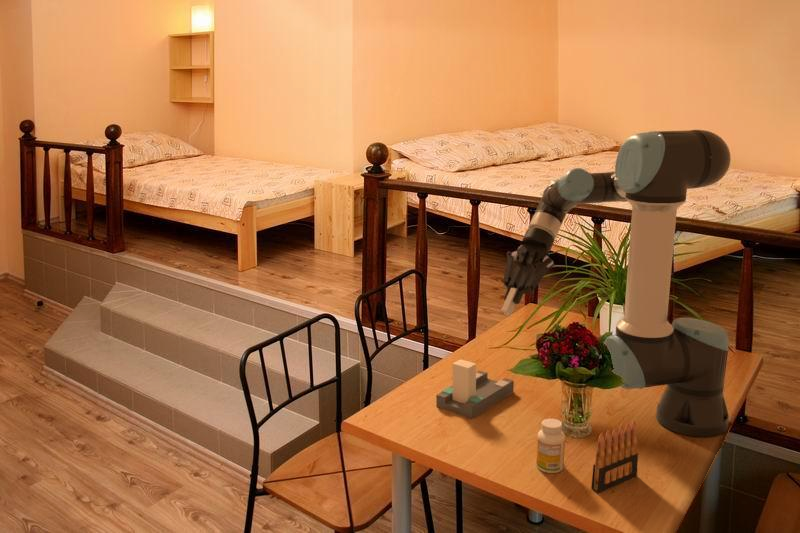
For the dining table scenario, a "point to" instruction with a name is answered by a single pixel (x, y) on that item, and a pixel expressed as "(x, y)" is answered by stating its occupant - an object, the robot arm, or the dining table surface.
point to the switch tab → (463, 381)
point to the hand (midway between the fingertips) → (505, 313)
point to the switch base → (477, 396)
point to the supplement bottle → (550, 446)
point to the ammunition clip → (615, 458)
